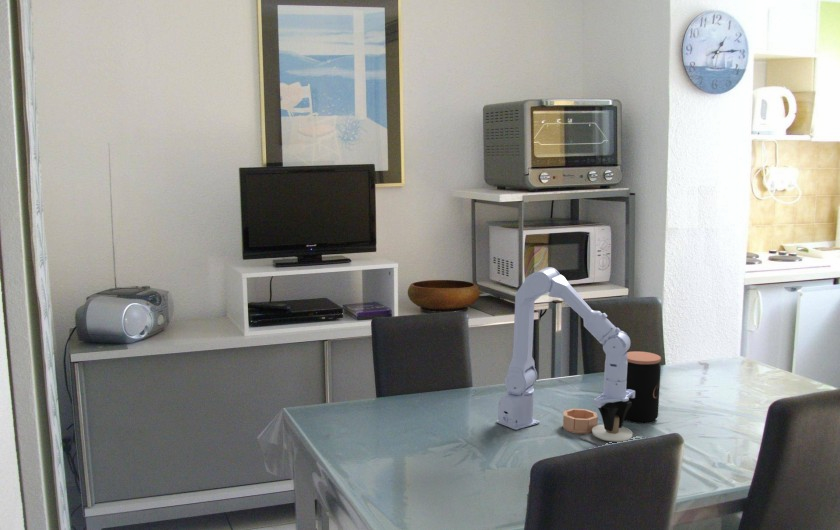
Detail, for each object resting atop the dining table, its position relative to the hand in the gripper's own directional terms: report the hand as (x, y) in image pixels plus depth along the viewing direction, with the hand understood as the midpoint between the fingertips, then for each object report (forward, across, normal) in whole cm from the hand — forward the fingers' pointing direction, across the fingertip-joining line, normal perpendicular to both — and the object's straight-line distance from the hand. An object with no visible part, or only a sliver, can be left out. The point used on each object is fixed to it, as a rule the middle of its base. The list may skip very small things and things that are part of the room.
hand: (613, 428), depth 224 cm
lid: (+2, 0, 0) cm, 2 cm away
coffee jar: (+3, +19, +6) cm, 20 cm away
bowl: (+3, -1, +10) cm, 11 cm away
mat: (+3, 0, 0) cm, 3 cm away
